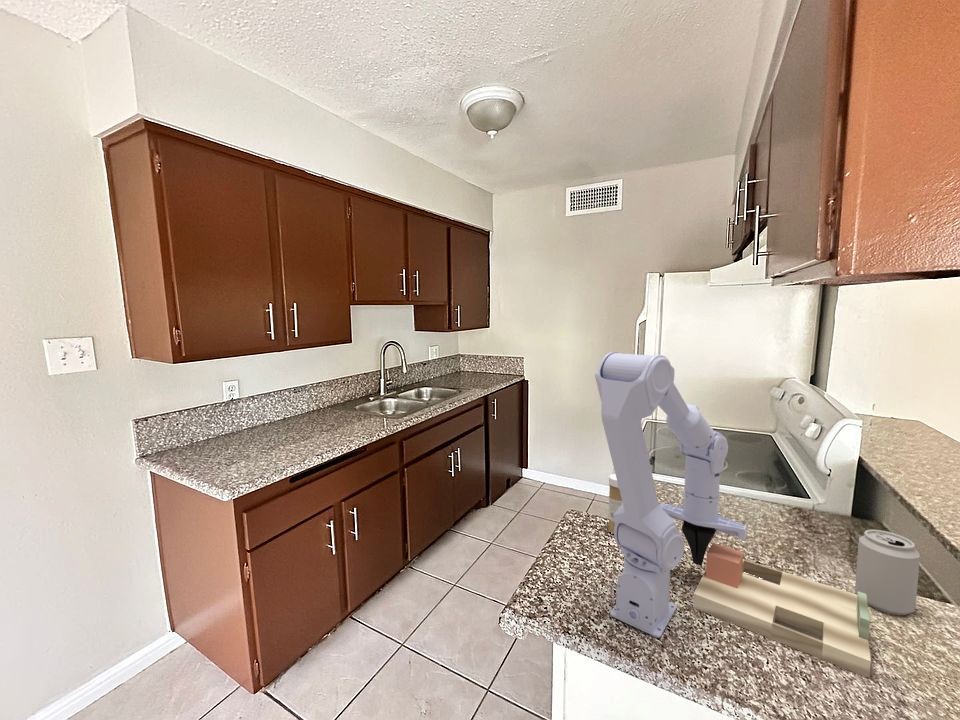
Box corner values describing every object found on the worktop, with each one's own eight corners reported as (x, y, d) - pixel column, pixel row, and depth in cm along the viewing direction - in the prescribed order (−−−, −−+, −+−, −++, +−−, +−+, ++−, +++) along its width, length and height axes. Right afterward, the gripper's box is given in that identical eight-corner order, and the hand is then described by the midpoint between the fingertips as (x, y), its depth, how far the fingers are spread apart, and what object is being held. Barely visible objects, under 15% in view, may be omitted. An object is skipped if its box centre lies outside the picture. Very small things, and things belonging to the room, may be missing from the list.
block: (737, 588, 72) (739, 563, 71) (705, 577, 75) (706, 553, 74) (742, 575, 75) (743, 552, 75) (711, 565, 79) (712, 542, 78)
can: (901, 623, 67) (907, 552, 66) (845, 596, 74) (850, 531, 73) (923, 611, 70) (929, 543, 69) (868, 585, 77) (873, 523, 76)
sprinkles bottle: (632, 534, 96) (634, 477, 94) (619, 539, 93) (621, 481, 92) (615, 526, 99) (617, 471, 98) (603, 531, 97) (604, 475, 96)
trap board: (869, 678, 56) (872, 640, 56) (692, 607, 70) (694, 576, 70) (861, 610, 70) (864, 579, 69) (715, 562, 84) (716, 536, 84)
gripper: (750, 496, 75) (746, 567, 76) (666, 477, 84) (664, 541, 85) (744, 508, 70) (740, 585, 71) (655, 487, 79) (653, 555, 80)
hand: (698, 562), depth 78 cm, fingers closed
